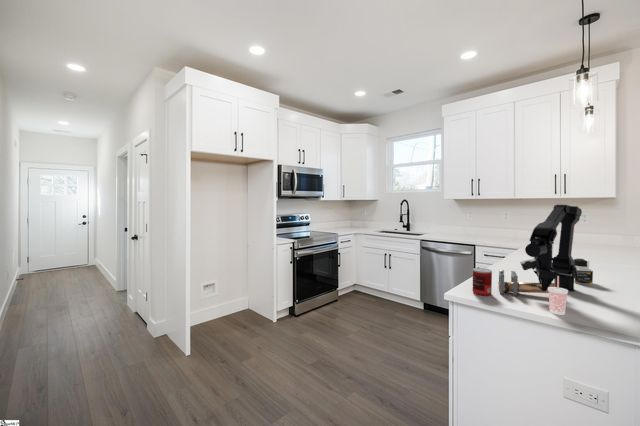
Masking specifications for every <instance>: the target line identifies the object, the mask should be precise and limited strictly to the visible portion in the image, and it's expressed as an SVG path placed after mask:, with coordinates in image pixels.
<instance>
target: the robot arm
mask: <svg viewBox="0 0 640 426" xmlns="http://www.w3.org/2000/svg"><path fill="white" fill-rule="evenodd" d="M582 213H583V211H582V208H580V207H579V206H577V205H576V206H575V205H574V206H573V205H568V204H555V205H554V206H553V209H552V211H551V212H550V213H549V215H548V216H547V217H546V219H544V221H543V222H540V223H538V224H537V225H536V226H535V227H534V228H533V230H532V233H531V235H530V237H529V242H530V243H529V244H527V245H526V246H525V248H524V250H525V253H526V255H527V256H529V257H530V258H531V259H527V260H522V261H520V265H521V268H522V270H523V271H528V270H530V269H531V270H533V273H534V274H535V275H536V276H537V278H538V283H541V284H542V290H543V291H546V290H547V289H548V287H549V286H550V284H551V283H555V286H556V287H557V276H559V288H564V289H567V290H568V292H570V291H571V292H575V291H576V290H575V283H574V278H578V271H577V269H576V266H575V261H574V258H573V256H572V251H573V242H574V241H573V239H574V232H575V225H576V224H577V223H578V222H579V221H580V220H581V219H580V218H581V216H582ZM560 224H561V225H560ZM559 225H560V236H559V243H558V251H557V252H558V253H557V255H555V256H554V257H553V246H554V244H555V243H554V242H555V239H556V237H557V236H558V232H557V227H559ZM571 274H572V275H571Z"/></svg>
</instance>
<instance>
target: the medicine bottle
mask: <svg viewBox="0 0 640 426" xmlns="http://www.w3.org/2000/svg"><path fill="white" fill-rule="evenodd" d="M573 260H574V261H575V266H576V269H577V271H578V278H574V284H579V285H580V284H581V285H589V286H590V285H591V286H592V285H593V283H594V282H593V277H594V271H593V270H592V269H590V261H589V260H588V259H586V258H573ZM571 275H572V274H571Z"/></svg>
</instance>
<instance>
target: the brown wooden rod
mask: <svg viewBox="0 0 640 426" xmlns="http://www.w3.org/2000/svg"><path fill="white" fill-rule="evenodd" d="M497 285H498V291H499V293H500V282H499V281H498V283H497ZM549 287H556V286H555V283H554V282H552V283H551V284H550V286H549ZM504 293H513V282H511V281H504ZM517 293H529V294H532V293H533V294H535V293H536V294H549V291H548V289H547V290H546V291H543V290H542V284H541V283H539V282H522V281H521V282H520V281H519V282H518V281H517Z"/></svg>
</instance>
